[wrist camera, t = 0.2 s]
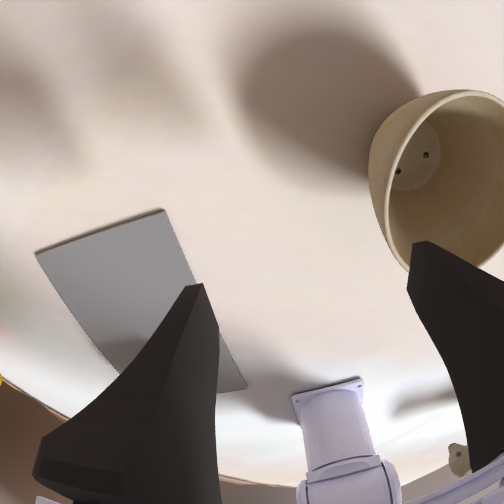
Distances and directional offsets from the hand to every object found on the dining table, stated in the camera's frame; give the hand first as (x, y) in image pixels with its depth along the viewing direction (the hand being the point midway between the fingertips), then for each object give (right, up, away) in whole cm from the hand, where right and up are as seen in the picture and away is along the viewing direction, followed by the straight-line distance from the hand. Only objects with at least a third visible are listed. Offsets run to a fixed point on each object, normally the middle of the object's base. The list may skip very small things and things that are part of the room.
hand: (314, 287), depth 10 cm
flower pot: (+8, +8, +8) cm, 13 cm away
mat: (-11, -6, +15) cm, 19 cm away
